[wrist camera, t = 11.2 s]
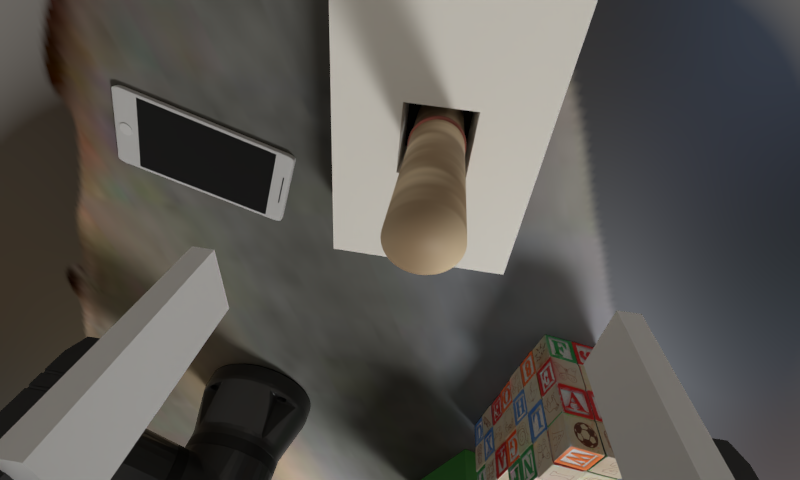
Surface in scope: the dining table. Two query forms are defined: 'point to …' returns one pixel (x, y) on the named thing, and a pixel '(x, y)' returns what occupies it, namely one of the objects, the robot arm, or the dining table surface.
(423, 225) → the beech peg
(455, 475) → the hardback book
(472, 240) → the hole board
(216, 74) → the dining table surface
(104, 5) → the dining table surface
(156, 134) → the smartphone
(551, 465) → the stack of blocks
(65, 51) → the dining table surface
